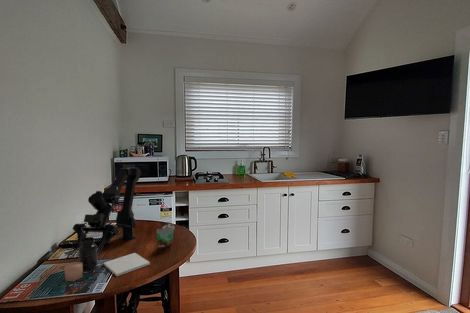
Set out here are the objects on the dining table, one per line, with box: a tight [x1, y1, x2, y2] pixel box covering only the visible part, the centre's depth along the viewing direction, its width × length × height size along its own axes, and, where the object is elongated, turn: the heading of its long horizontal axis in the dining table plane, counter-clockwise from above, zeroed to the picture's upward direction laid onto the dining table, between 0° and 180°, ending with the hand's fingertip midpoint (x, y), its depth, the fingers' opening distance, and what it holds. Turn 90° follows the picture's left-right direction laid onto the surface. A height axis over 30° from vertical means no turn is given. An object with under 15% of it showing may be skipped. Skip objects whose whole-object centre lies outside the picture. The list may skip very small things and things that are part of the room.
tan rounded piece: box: [64, 261, 84, 282], centre depth 105 cm, size 6×6×5 cm
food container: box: [156, 221, 175, 249], centre depth 137 cm, size 12×6×10 cm, turn 168°
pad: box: [103, 252, 151, 277], centre depth 116 cm, size 14×14×1 cm
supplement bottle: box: [78, 236, 99, 271], centre depth 114 cm, size 7×7×12 cm
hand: (87, 248), depth 114 cm, fingers open, 9 cm apart
